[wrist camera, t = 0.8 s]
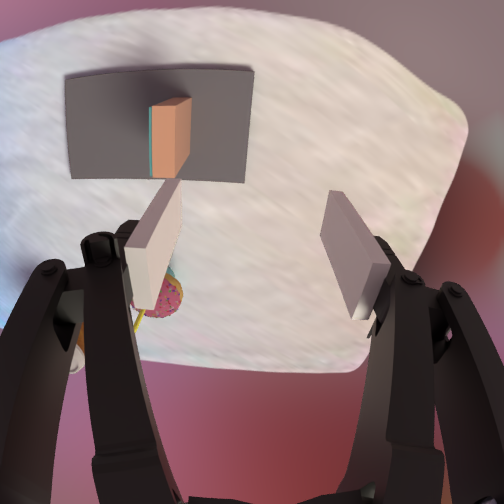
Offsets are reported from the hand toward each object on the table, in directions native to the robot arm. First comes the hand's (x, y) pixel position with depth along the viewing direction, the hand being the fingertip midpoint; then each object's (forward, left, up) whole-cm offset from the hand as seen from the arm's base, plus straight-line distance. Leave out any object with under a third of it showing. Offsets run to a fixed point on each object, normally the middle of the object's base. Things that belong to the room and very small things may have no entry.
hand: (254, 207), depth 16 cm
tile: (-8, 0, -22) cm, 24 cm away
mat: (-12, 0, -23) cm, 26 cm away
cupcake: (-12, -23, -23) cm, 35 cm away
